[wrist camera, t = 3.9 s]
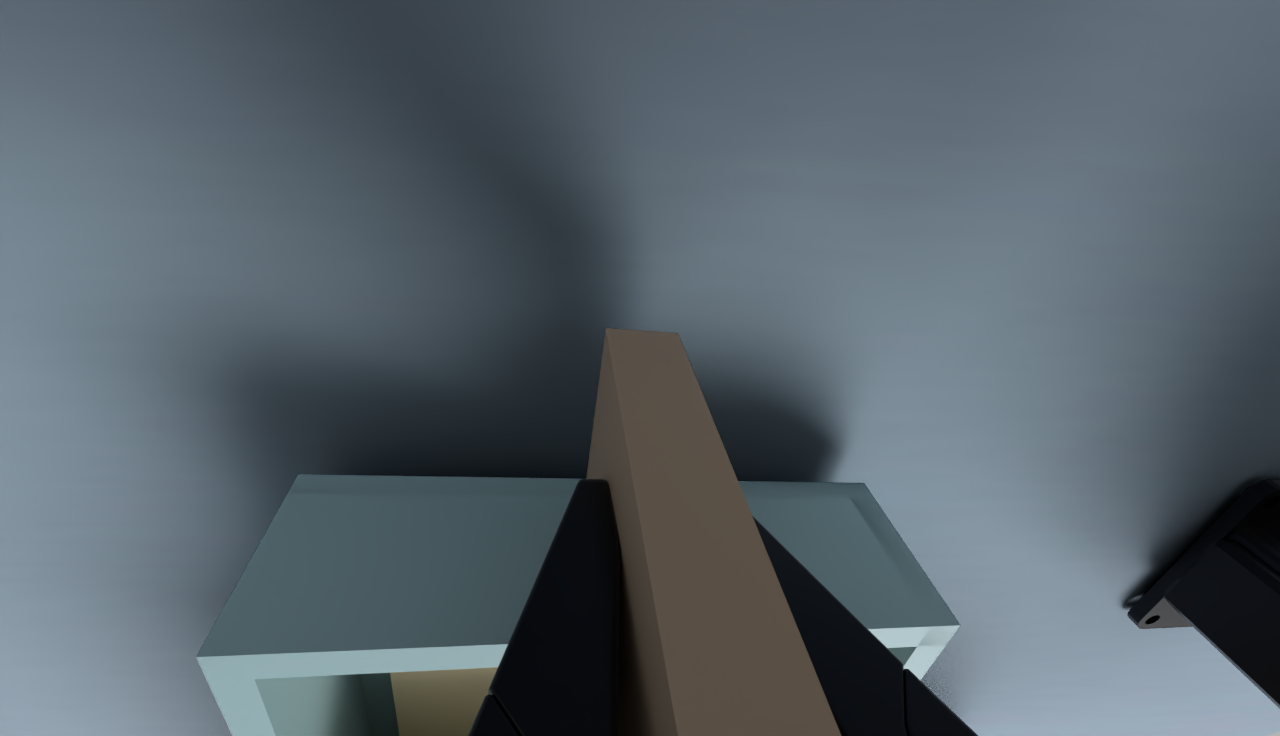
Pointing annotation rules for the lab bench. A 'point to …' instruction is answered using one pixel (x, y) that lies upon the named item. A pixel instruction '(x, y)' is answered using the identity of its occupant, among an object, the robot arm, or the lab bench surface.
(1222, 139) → the lab bench surface
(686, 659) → the tray
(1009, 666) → the lab bench surface
